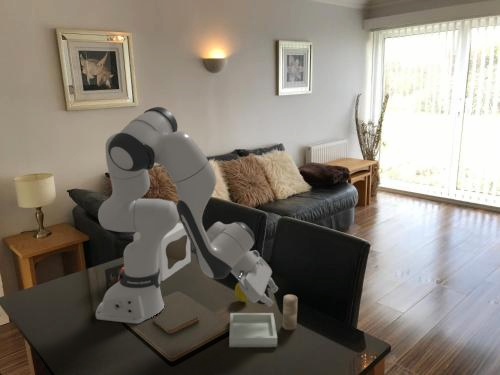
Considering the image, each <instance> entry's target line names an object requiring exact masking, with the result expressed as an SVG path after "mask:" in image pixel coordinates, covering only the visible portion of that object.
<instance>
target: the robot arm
mask: <svg viewBox="0 0 500 375" xmlns="http://www.w3.org/2000/svg"><path fill="white" fill-rule="evenodd" d="M105 160H106V167H107V171H108V174H109V178H110V182H111V188H112V191H111V192H112V193H111V195H110V197H109V198H107V199H106V200H104V201H103V202H102V204H101V205H100V206H99V209H98V213H97V218H98V219H97V220H98V221H99V224H100V226H101V227H102V228H103V229H104V230H108V231H111V232H118V233H136V232H139V233H140V235H141V238H140V239H138V240H136V241H134V240H133V241H132V242H129V244H127V245H126V246H125V248H124V250H123V266H122V267H121V269H120V271H119V273H118V277H117V281H118V282H116V283H115V284H113V285H112V286H111V287H109V288H108V289H107V291H105V293H104V296H103V299H102V302H100V303H99V304H98V306H97V308H96V310H95V318H96V320H99V321H100V320H101V321H109V322H110V321H111V322H116V323H117V322H120V323H128V324H137V325H138V324H140V323H143V322H145V321H146V320H148V319H152V318H154V317H155V316H154V315H156V314H157V313H159V312H160V311H161V310H162V309H163V308H164V305H165V302H164V300H163V297H162V296H163V295H162V292H161V282H162V281H161V278H160V269H159V267H158V252H159V246H160V243H161V241H162V239H163V238H164V237H165V235H166V234H167V233H169V232H170V231H171V230H173V229H174V228H175V226H176V225H177V223H178V219H179V217H180V220H181V222H182V224H183V227H184V229H185V231H186V233H187V235H188V238H189V240H190V245H191V246H192V249H193V251H194V253H195V256H196V259H197V260H196V261H197V263H198V265H199V268H200V270H201V271H202V273H204V274H205V276H207V277H208V278H209V279H211V280H221V279H222V280H223V279H225V278H227V277H228V275H229V274H230V273H231V274H232V275H233V276H234V277H235V278H236V279H237V281H238V283H239V286H240V288H241V290H242V291H243V292H244V294H245V295H246V296H247V297H248V299H247V300H249V301H250V302H251V303H253V304H256V303H257V302H259V301H260V302H261V303H264V304H265V305H266V306H268V307H269V308H271V307H272V306H273V305H274V303H275V302H274V300H273V299H272V298H271V297H268V296H267V294H266V293H265V292H266V289H267V286H268V287H269V288H270V291H271V292H272V293H273V294H276V292H278V290H279V287H278V286H277V285H276V283H275V281H274V280H273V278H272V277H271V276H272V274H273V271H272V268H271V267H270V266H269V264H268V263H267V262H266V261H265V260H264V259H263V258H262V257H261V256H260V253H259V251H258V250H256V249H255V250H251V249H252V248H253V246H254V245H255V242H256V240H255V233H254V232H253V230H252V229H251V228H250V227H249V226H248V225H247V224H246V223H245V222H241V221H240V222H239V221H233V222H232V223H229V224H228V223H227V224H225V223H223V222H221V221H216V222H214V223H213V224H211V225H210V226H209V227H208V228H207V229H206V230H205V227H204V225H203V215H204V211H205V210H206V206H207V204H208V202H209V200H210V199H211V197H212V196H213V194H214V192H215V188H216V184H217V176H216V172H215V170H214V168H213V166H212V164H211V163H210V161H209V159H208V158H207V156H206V155H205V153H204V152H203V150H202V149H201V148H200V147H199V145H198V144H197V143H196V142H195V141H194V139H193V138H192V137H191V136H190V135H189V134H188V133H186V132H185V131H180V130H179V131H178V122H177V120H176V117H175V116H174V115H173V113H172V112H171V111H170V110H168V109H167V108H165V107H161V106H155V107H150V108H149V109H147V110H144V112H143V113H142V114H139V115H138V116H137V117H135V118H134V119H132V120H131V121H130V122H129V123H128V124H127V125H126V126H124V128H123V129H122V130H121V131H120V132H117V133H114V134H112V135H110V136H109V137H108V139H107V140H106V142H105ZM155 164H157V165H160V166H162V167H163V169H165V171H166V172H167V174H168V176H169V177H170V179H171V181H172V182H173V184H174V186H175V188H176V189H175V190H176V192H177V200H178V201H177V203H173V202H174V201H173V202H171V201H172V200H167V199H161V198H143V197H144V196H145V194H147V193H148V191H149V189H150V187H151V180H150V175H149V170H151V169H153V168H154V165H155ZM175 204H176V205H175ZM164 309H165V308H164ZM153 316H154V317H153ZM151 317H152V318H151Z"/></svg>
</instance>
